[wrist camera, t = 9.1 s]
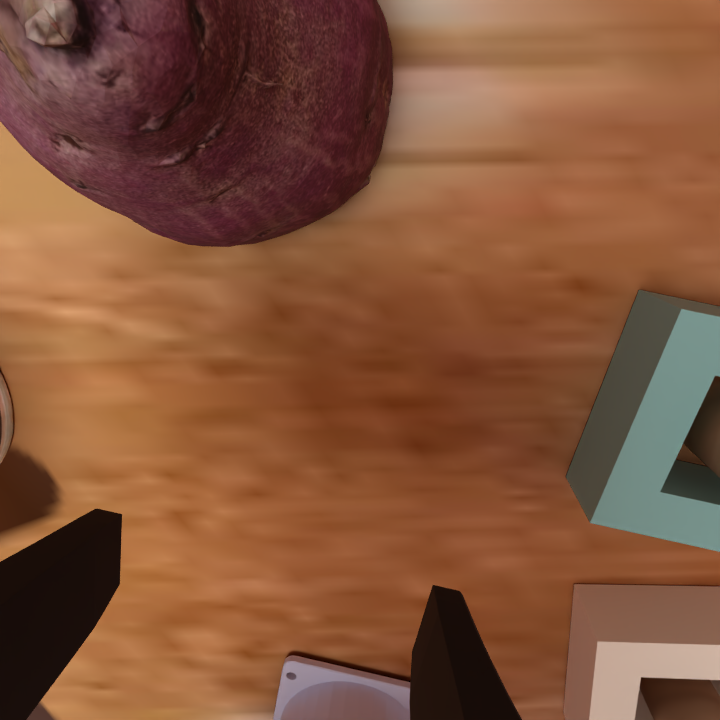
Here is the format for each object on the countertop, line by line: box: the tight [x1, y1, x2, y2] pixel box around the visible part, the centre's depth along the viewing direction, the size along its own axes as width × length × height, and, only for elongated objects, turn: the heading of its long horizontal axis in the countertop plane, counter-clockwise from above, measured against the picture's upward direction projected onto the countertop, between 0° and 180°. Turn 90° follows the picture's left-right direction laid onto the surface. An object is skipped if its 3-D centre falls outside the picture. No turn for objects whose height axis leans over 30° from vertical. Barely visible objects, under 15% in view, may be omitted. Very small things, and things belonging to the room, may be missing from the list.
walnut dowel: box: [639, 677, 720, 720], centre depth 20 cm, size 3×3×6 cm
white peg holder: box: [563, 584, 720, 720], centre depth 22 cm, size 8×8×3 cm
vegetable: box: [0, 0, 393, 247], centre depth 11 cm, size 10×10×15 cm
